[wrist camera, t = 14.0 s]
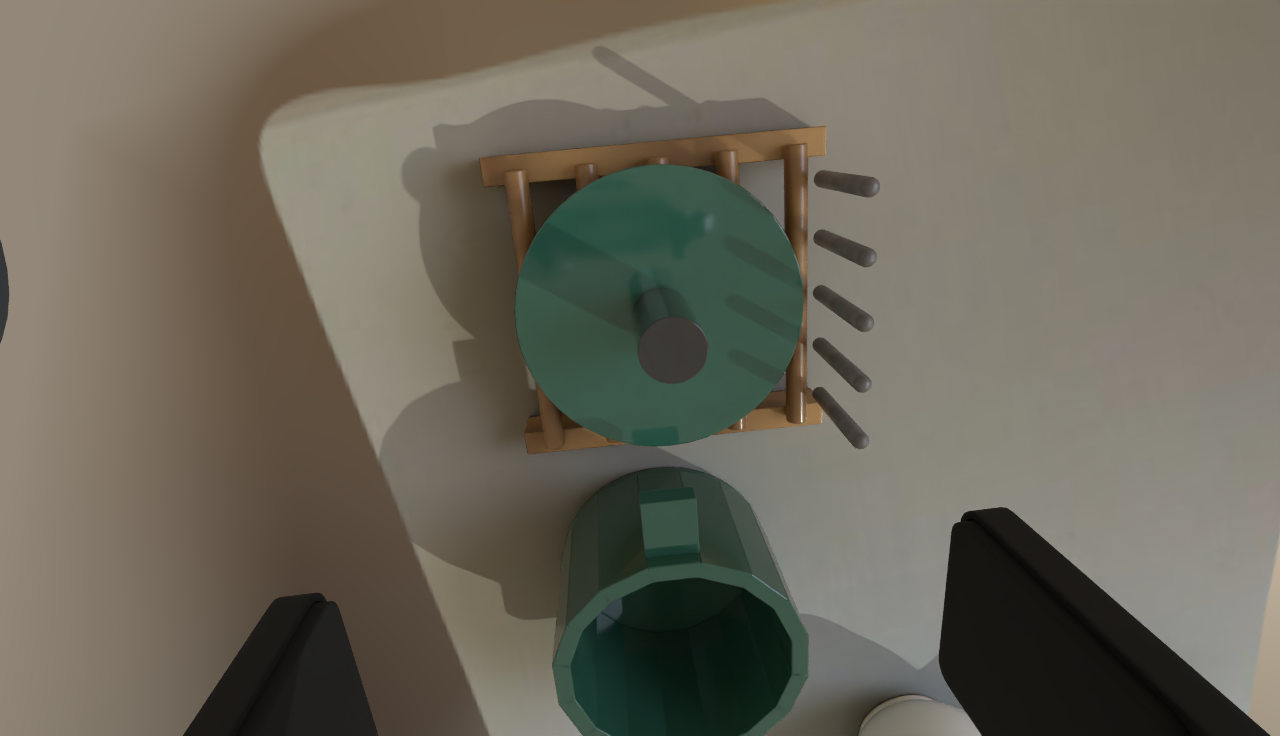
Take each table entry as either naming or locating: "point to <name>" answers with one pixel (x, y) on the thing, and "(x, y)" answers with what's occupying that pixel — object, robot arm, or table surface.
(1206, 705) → the robot arm
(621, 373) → the lid
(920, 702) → the trinket box
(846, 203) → the table surface
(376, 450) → the table surface
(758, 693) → the pot
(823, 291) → the dish rack
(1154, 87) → the table surface
